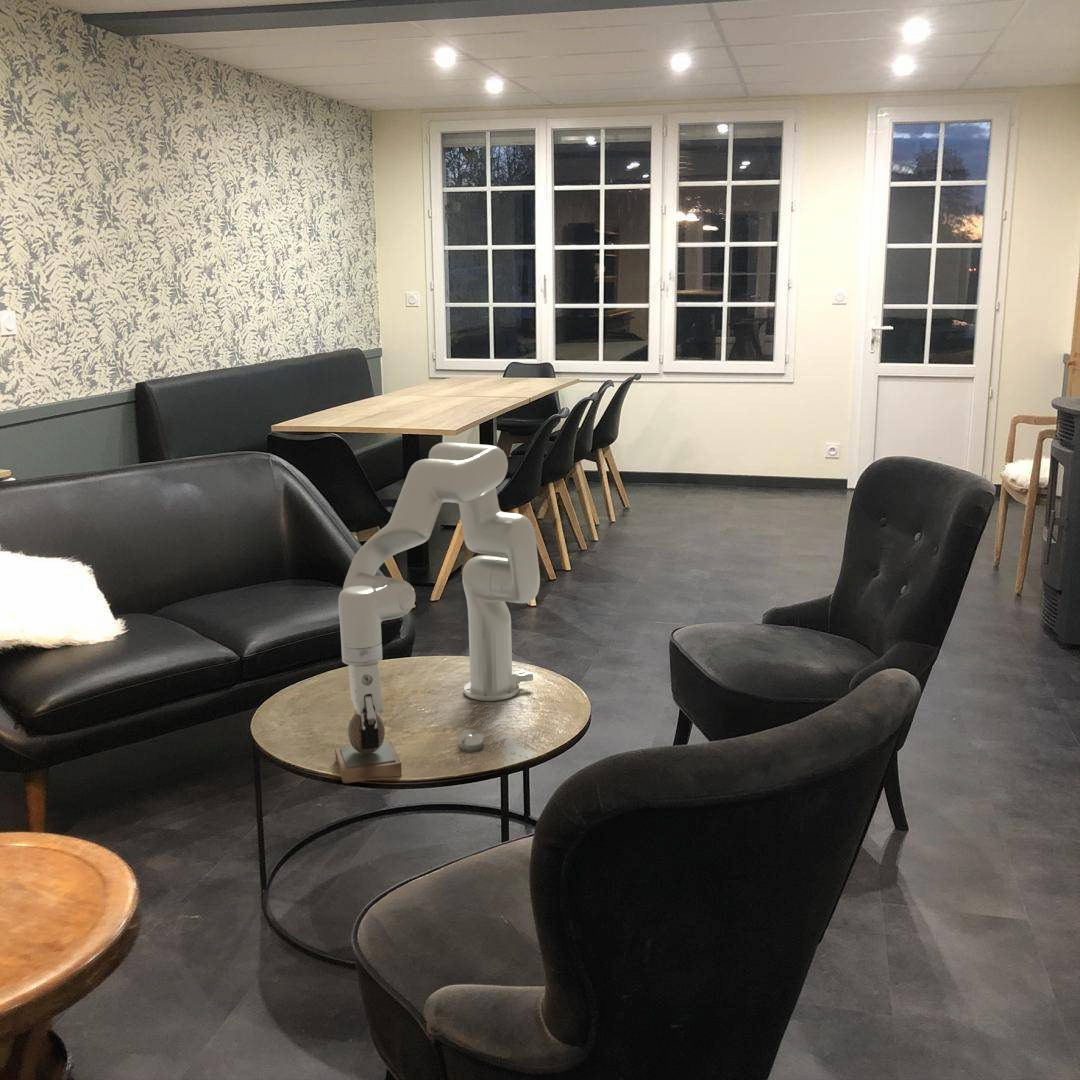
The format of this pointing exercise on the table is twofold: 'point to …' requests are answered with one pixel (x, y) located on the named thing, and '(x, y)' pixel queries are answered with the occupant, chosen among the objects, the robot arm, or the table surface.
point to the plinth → (367, 763)
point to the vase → (355, 732)
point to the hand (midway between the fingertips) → (367, 739)
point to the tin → (470, 741)
